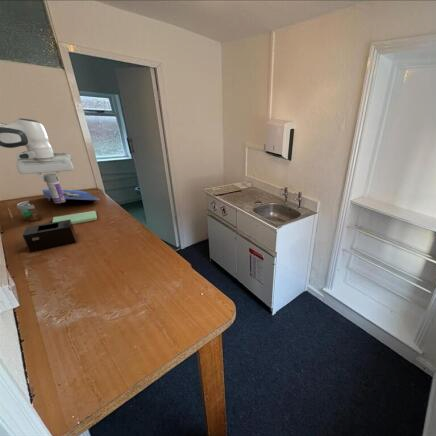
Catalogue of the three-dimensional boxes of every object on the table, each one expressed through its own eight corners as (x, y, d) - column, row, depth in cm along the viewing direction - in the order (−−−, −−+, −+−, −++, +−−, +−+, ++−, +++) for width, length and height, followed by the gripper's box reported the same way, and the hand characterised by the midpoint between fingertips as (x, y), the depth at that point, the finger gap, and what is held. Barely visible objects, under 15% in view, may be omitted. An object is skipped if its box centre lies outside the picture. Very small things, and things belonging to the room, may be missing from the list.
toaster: (30, 253, 107) (22, 236, 104) (33, 243, 116) (26, 226, 112) (76, 243, 117) (70, 227, 113) (76, 234, 125) (70, 219, 122)
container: (63, 199, 129) (53, 173, 123) (67, 201, 128) (57, 174, 122) (52, 202, 126) (41, 174, 120) (56, 203, 124) (45, 176, 118)
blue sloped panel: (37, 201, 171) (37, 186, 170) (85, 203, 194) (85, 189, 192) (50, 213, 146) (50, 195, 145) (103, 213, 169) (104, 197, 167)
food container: (20, 218, 140) (13, 202, 136) (35, 215, 145) (28, 200, 141) (25, 223, 134) (18, 207, 130) (40, 220, 139) (33, 204, 135)
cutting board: (52, 227, 131) (51, 225, 131) (54, 219, 141) (53, 217, 140) (97, 219, 143) (96, 217, 143) (96, 212, 153) (95, 210, 152)
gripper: (69, 151, 125) (77, 177, 130) (13, 154, 113) (25, 181, 118) (69, 153, 120) (77, 179, 126) (10, 155, 108) (22, 184, 114)
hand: (51, 180), depth 122 cm, fingers closed on container, 3 cm apart
